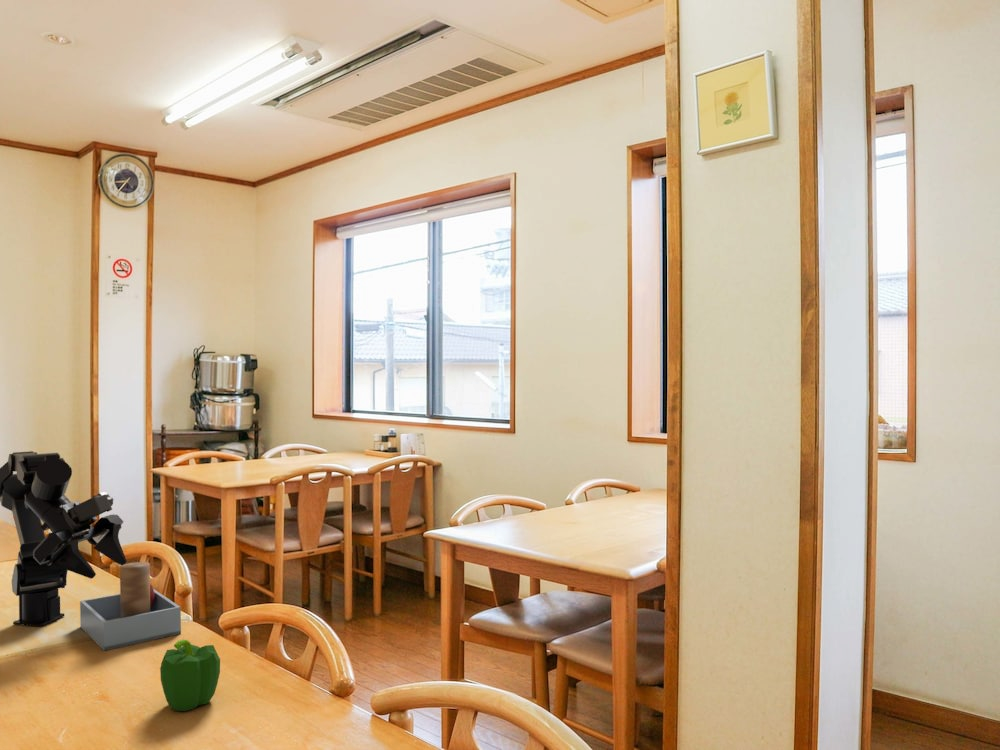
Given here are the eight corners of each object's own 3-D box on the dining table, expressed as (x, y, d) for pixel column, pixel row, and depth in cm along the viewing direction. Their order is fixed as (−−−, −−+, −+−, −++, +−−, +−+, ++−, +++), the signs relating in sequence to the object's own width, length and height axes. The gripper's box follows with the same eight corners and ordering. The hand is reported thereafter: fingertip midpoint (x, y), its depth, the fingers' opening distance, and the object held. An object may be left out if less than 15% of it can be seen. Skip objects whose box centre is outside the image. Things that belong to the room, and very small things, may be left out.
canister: (118, 638, 142) (117, 569, 142) (123, 629, 147) (122, 563, 147) (148, 635, 143) (147, 567, 143) (152, 626, 148) (151, 561, 148)
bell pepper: (201, 687, 121) (200, 623, 121) (230, 701, 116) (229, 634, 116) (147, 706, 115) (147, 638, 114) (176, 722, 109) (175, 650, 109)
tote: (80, 626, 150) (80, 600, 150) (152, 612, 159) (152, 587, 159) (104, 650, 137) (103, 622, 137) (180, 633, 146) (180, 607, 146)
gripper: (47, 488, 138) (105, 552, 136) (113, 473, 156) (165, 530, 155) (7, 531, 139) (65, 595, 137) (78, 512, 157) (129, 568, 156)
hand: (109, 570), depth 146 cm, fingers open, 9 cm apart
